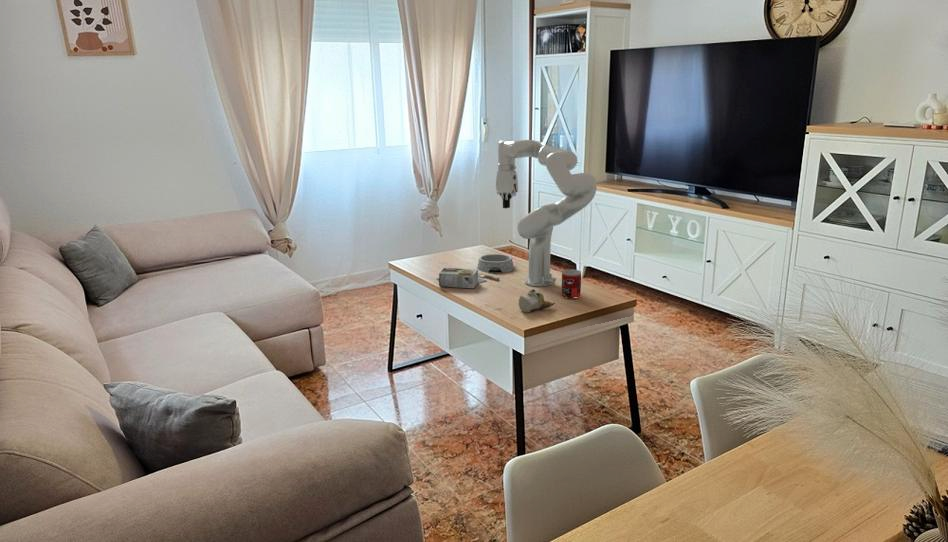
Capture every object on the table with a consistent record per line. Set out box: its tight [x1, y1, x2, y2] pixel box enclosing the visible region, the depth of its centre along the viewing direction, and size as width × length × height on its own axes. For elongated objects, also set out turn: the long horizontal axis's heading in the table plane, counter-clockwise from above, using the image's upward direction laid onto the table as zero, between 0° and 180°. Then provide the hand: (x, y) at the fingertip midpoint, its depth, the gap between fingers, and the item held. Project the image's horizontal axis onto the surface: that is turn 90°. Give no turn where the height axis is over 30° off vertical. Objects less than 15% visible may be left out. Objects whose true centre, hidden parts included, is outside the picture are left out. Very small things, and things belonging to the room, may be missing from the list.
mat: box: [436, 277, 487, 285], centre depth 287 cm, size 19×14×1 cm
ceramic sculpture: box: [518, 289, 556, 313], centre depth 248 cm, size 11×9×15 cm
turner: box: [478, 271, 500, 282], centre depth 291 cm, size 15×4×1 cm, turn 46°
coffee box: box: [438, 267, 479, 289], centre depth 279 cm, size 9×6×16 cm
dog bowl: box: [476, 253, 515, 273], centre depth 306 cm, size 17×18×5 cm
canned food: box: [561, 268, 582, 298], centre depth 261 cm, size 8×8×11 cm
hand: (506, 207), depth 286 cm, fingers closed
